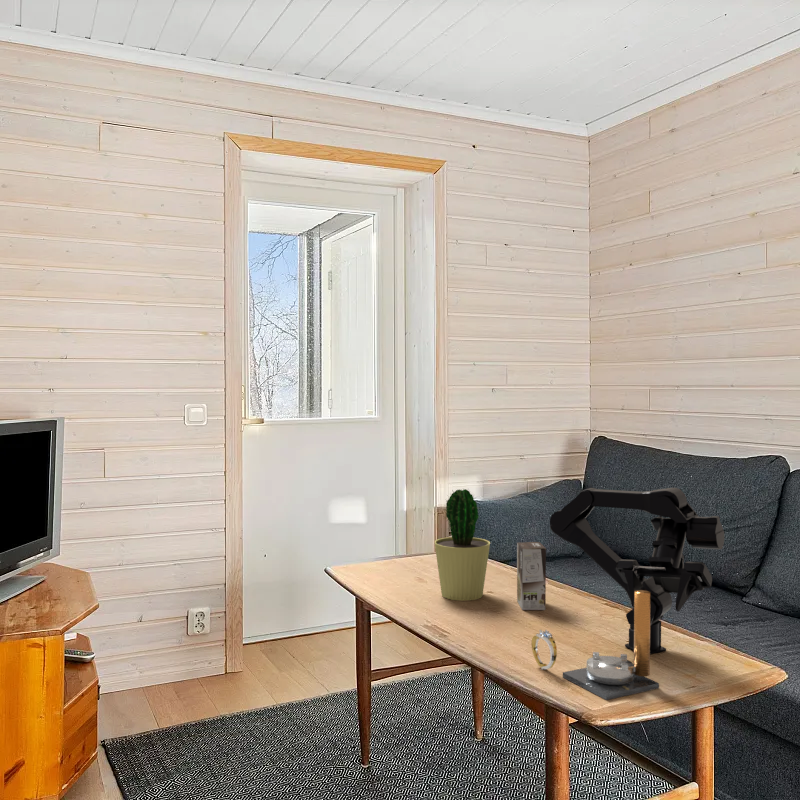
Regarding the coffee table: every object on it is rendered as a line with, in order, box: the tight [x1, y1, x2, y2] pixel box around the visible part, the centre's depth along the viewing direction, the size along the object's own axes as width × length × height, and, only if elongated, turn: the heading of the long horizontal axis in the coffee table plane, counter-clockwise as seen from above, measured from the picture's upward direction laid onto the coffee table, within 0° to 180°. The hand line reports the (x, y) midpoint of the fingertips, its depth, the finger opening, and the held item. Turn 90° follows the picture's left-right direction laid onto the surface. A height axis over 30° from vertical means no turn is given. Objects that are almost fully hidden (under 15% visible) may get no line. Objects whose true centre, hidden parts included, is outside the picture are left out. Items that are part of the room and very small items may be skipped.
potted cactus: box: [434, 488, 491, 602], centre depth 225 cm, size 15×15×30 cm
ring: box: [531, 629, 558, 671], centre depth 168 cm, size 7×3×8 cm, turn 22°
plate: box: [562, 667, 660, 701], centre depth 161 cm, size 13×13×1 cm
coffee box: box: [516, 541, 547, 611], centre depth 215 cm, size 9×6×16 cm
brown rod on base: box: [586, 590, 651, 685], centre depth 160 cm, size 12×9×17 cm
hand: (654, 608), depth 166 cm, fingers open, 9 cm apart
